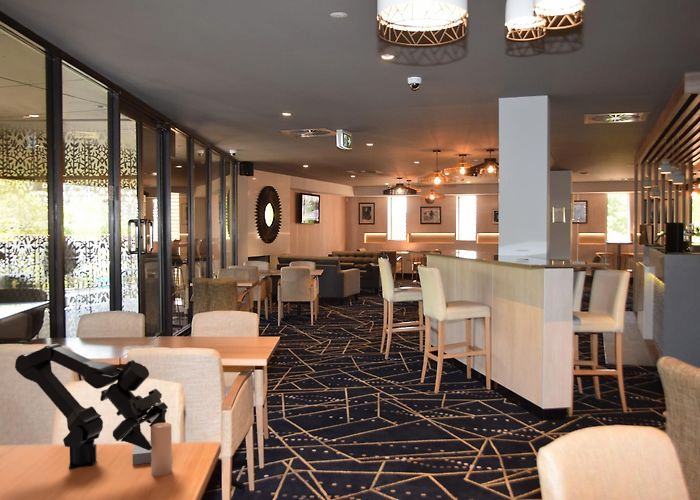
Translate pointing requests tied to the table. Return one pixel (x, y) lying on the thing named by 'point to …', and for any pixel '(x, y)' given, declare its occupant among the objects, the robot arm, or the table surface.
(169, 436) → the terracotta column
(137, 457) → the charcoal plinth
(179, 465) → the table surface
